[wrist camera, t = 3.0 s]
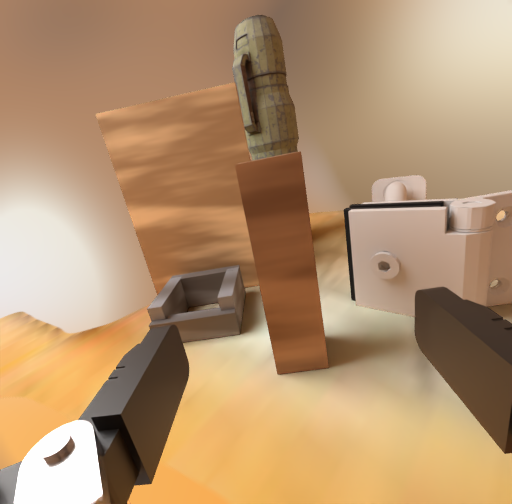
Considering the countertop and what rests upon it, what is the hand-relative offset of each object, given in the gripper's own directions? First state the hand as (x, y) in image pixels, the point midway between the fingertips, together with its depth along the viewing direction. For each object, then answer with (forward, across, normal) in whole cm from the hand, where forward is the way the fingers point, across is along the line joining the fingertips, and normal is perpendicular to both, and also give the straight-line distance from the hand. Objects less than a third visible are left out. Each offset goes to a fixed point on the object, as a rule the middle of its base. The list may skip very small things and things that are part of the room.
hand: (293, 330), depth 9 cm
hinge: (+16, -13, +10) cm, 23 cm away
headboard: (+22, +10, +10) cm, 26 cm away
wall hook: (+38, -20, +10) cm, 44 cm away
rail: (+13, 0, +10) cm, 16 cm away
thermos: (+43, -2, +10) cm, 44 cm away
